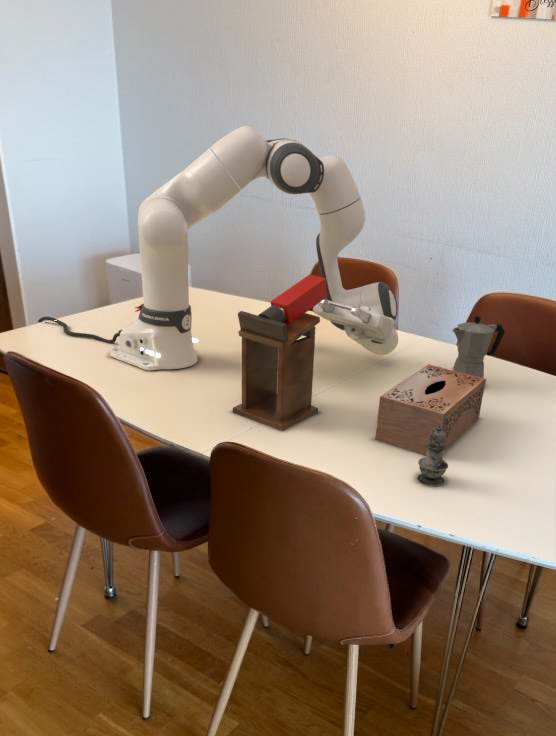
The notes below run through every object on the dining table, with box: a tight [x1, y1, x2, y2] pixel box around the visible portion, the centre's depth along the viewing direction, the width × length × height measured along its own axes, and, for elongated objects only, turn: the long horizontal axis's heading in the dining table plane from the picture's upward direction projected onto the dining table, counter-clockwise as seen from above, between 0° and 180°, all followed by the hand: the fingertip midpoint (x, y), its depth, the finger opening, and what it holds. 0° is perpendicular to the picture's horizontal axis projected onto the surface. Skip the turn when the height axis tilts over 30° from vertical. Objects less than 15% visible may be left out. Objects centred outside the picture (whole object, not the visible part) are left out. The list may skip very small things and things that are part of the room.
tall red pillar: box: [257, 274, 327, 325], centre depth 153 cm, size 19×4×9 cm, turn 146°
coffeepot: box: [452, 315, 506, 378], centre depth 184 cm, size 15×9×18 cm, turn 113°
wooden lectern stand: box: [232, 310, 321, 432], centre depth 156 cm, size 14×14×23 cm
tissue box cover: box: [374, 363, 487, 456], centre depth 159 cm, size 26×14×10 cm, turn 151°
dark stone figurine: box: [417, 424, 449, 487], centre depth 137 cm, size 6×6×12 cm
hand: (337, 305), depth 168 cm, fingers open, 8 cm apart
